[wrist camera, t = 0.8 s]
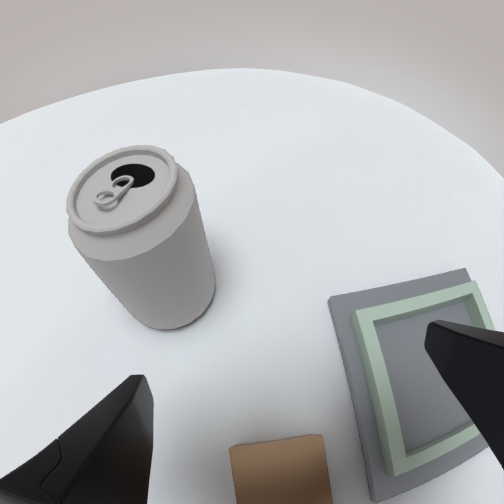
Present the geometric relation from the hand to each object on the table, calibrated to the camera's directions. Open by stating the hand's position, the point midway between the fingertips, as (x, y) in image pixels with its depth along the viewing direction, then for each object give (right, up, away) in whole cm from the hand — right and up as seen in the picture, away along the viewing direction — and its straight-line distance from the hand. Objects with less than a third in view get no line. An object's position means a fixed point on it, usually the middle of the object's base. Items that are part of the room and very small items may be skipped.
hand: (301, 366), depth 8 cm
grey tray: (+12, -6, +11) cm, 18 cm away
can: (-8, 0, +16) cm, 18 cm away
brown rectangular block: (0, -12, +7) cm, 14 cm away
